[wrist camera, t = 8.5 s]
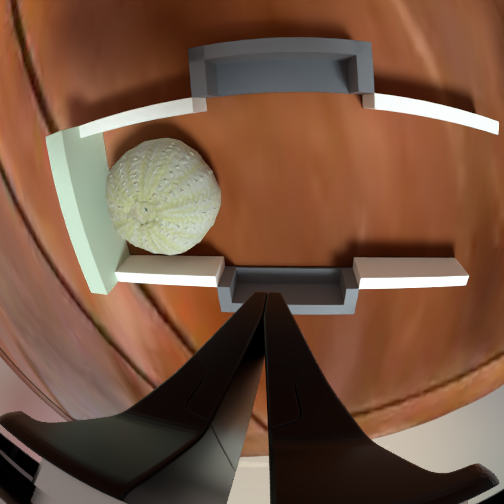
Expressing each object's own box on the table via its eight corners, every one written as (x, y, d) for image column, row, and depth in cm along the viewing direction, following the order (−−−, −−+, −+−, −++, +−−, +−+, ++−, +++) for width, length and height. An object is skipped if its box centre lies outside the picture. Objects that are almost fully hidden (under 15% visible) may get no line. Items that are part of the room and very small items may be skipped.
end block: (101, 121, 19) (61, 130, 14) (132, 263, 26) (107, 294, 21) (84, 126, 19) (45, 137, 15) (117, 263, 26) (91, 292, 22)
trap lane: (476, 78, 12) (497, 78, 10) (444, 288, 22) (456, 308, 20) (97, 84, 17) (74, 85, 14) (139, 285, 27) (126, 303, 24)
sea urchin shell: (93, 150, 18) (106, 155, 13) (179, 130, 22) (228, 131, 17) (115, 250, 23) (140, 294, 17) (191, 223, 27) (237, 254, 21)
